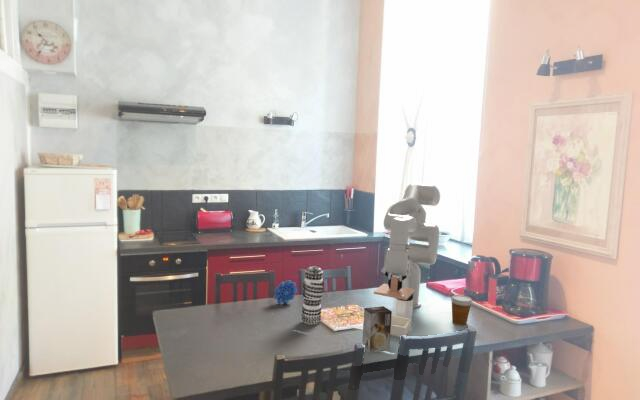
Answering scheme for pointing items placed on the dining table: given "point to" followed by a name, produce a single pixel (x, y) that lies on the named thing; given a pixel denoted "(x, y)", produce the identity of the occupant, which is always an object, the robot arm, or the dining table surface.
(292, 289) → the grapes
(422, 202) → the robot arm
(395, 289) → the lid
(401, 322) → the dish
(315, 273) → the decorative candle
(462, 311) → the disposable coffee cup
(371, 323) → the coffee box
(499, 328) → the dining table surface
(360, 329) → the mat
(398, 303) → the jar
